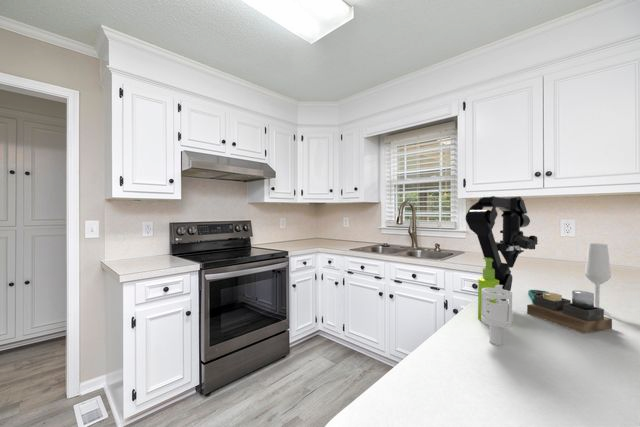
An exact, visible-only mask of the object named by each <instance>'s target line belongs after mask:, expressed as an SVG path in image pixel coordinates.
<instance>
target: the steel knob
mask: <svg viewBox="0 0 640 427" xmlns="http://www.w3.org/2000/svg"><path fill="white" fill-rule="evenodd" d="M571 293H572V294H571V296H572V297H571V299H572V300H571V303H572V304H573V305H575V306H578V307H583V308H594V306H595V293H594V292H590V291H585V290H576V289H575V290H571Z"/></svg>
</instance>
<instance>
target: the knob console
mask: <svg viewBox="0 0 640 427" xmlns="http://www.w3.org/2000/svg"><path fill="white" fill-rule="evenodd" d="M604 310H605V309H604V308H602V307H601V308H598V307H594V308H583V307H578V306H575V305H573V304H572V300H570V299H568V298H563V297H562V301H552V300H549V299H545V298H543V295H540V296H535V304H533V303H532V304H527V305H526V314H528V315H529V316H533V317H536V318H538V319H539V318H540V319H542V320H545V321H547V322H551V323H553V324H556V325H559V326H561V327H565V328H567V329H570V330H573V331H576V332H580V333H582V334H589V333H595V332H600V331H601V332H602V331H606V330H612V329H613V318H610V317H607V316H605V315H604Z"/></svg>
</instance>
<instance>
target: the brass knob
mask: <svg viewBox="0 0 640 427" xmlns="http://www.w3.org/2000/svg"><path fill="white" fill-rule="evenodd" d="M547 292H548V291H546V293H543V298H545V299H549V300H552V301H562V298H563V296H562V294H560V293H554V292H549V293H547Z"/></svg>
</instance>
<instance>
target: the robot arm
mask: <svg viewBox="0 0 640 427" xmlns="http://www.w3.org/2000/svg"><path fill="white" fill-rule="evenodd" d="M522 198H523V197H521V196H502V197H498V196H495V195H490V196H489V195H487V196H485V195H483V196H482V197H481V196H480V198H479V200H478V201H477V202H475V203H474V204H473V205H471V206H470V207H469V209H468V210H467V212H466V214H465V222H466V224H467V226H468V227H469V229H470V230H471V231H472V232H473V233H474V234H475V235H476V236H477V239H478V242H479V245H480V249H481V252H482V255H483V258H484V257H485V258H492V259H493V262H492V268H493V269H495V279H497V280H499V285H502V289H504V290H508V291H510V292H512V291H511V290H512V283H513V275H512V274H511V272H512V271H511V269H510V268H513V267H514V266H515V263H516V261H517V258H518V257H519V255H520V254H521V253H524V252H525V250H536V246H537V245H538V241H539V240H538V236H536V235H529V236H527V235H524V232H523V231H522V230H521V229H520V228H526V227H528V226H529V225H530V222H531V220H530V216H528V215H527V214H528V210H527V208H526V203H525V200H524V199H522ZM484 208H491V210H490V209H484ZM497 208H498V210H500V211H501V212H502V213H501V215H500V217H501V218H502V230H499V234H502V240H500V241H495V236H494V234H493V233H494V232H493V228H494V226H495V224H496V218H497V217H498V211H497ZM522 249H523V250H522ZM499 252H500V253H501V255H502V257H503V259H504V261H505V262H502V260H501V256H500V253H499ZM484 261H485V262H486V260H485V259H484ZM500 300H502V301H506V300H507V299H500Z"/></svg>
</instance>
